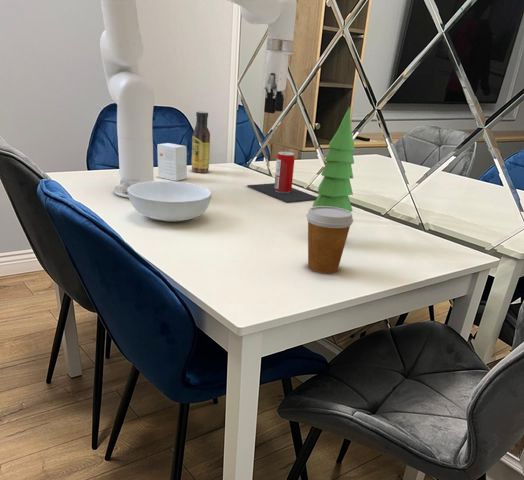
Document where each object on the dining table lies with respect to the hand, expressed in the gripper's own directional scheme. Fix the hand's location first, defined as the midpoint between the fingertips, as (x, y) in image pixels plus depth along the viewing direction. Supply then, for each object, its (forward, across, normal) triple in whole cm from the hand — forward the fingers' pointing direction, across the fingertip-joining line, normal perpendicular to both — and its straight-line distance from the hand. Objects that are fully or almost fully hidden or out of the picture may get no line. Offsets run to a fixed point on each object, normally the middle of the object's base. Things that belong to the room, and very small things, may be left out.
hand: (273, 111), depth 163 cm
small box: (+24, +2, -32) cm, 40 cm away
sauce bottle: (+24, -14, -28) cm, 40 cm away
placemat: (+23, +1, +6) cm, 24 cm away
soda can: (+23, +1, +6) cm, 24 cm away
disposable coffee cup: (+24, +65, +30) cm, 75 cm away
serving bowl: (+24, +45, -14) cm, 53 cm away
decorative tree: (+24, +45, +28) cm, 58 cm away
